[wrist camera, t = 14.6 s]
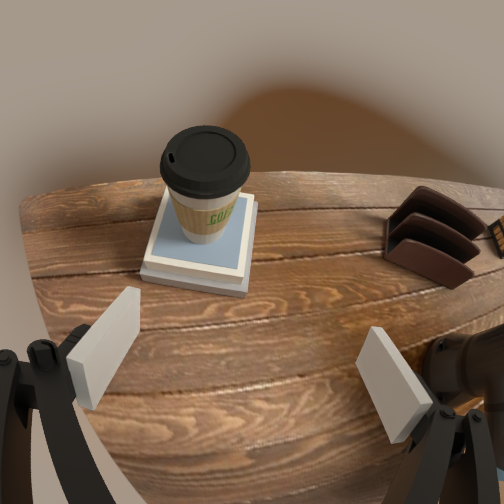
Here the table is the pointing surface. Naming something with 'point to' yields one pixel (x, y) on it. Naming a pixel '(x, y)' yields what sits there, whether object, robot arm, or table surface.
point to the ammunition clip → (498, 235)
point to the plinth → (202, 252)
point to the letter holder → (433, 237)
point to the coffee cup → (204, 179)
